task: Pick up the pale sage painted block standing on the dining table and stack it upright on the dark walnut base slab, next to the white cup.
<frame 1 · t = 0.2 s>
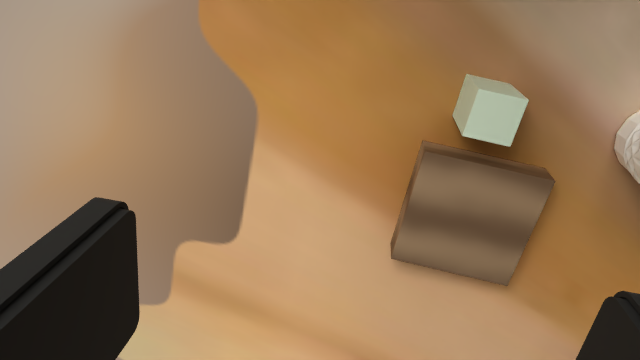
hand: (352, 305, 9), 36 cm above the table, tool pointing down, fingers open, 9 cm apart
walnut base: (463, 207, 47), on the table
sage block: (480, 99, 43), on the table
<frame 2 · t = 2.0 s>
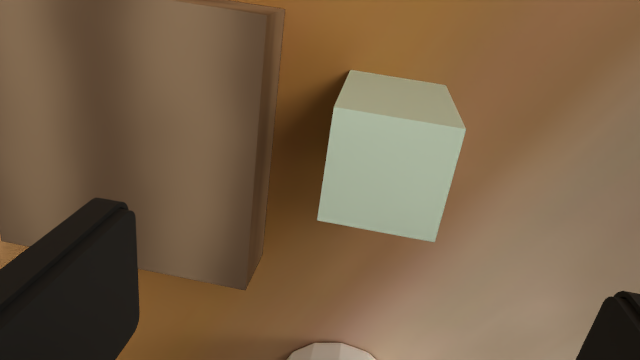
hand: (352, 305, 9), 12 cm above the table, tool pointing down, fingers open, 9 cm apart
walnut base: (148, 124, 22), on the table
sage block: (388, 122, 20), on the table
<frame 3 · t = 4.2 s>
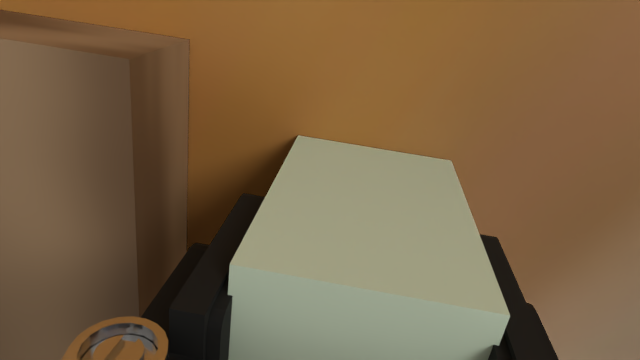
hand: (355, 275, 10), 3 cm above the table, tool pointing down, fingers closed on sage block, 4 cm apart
sage block: (361, 215, 13), on the table, touching gripper
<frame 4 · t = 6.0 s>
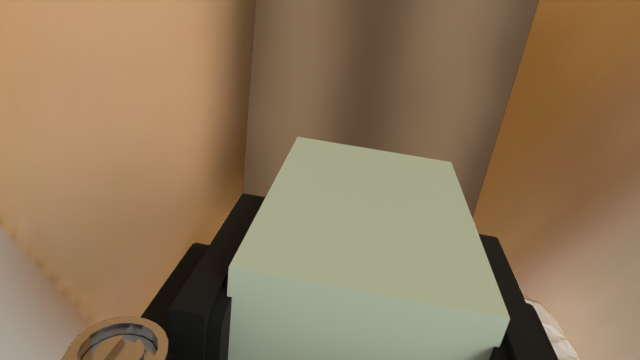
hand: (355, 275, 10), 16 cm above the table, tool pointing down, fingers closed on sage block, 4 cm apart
white cup: (502, 334, 30), on the table
walnut base: (372, 99, 25), on the table
sage block: (360, 216, 13), point 13 cm above the table, touching gripper
when the fingers open (7 cm above the table, at t = 8.3 s): sage block stays where it is, resting on walnut base.
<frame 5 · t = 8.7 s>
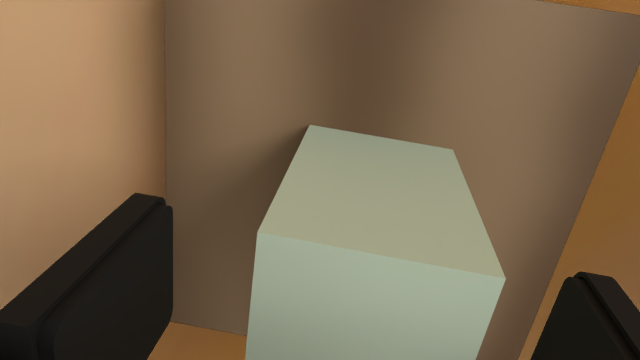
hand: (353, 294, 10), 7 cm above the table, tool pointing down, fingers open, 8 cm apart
walnut base: (365, 163, 16), on the table
sage block: (367, 200, 14), point 3 cm above the table, touching walnut base
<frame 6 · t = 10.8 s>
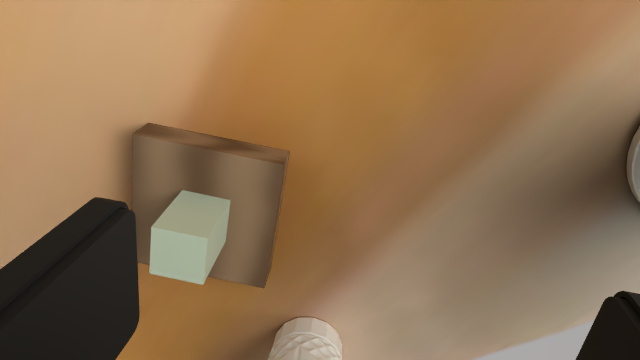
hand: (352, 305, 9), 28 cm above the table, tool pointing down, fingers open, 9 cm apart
white cup: (308, 340, 47), on the table
walnut base: (213, 200, 41), on the table
sage block: (204, 216, 38), point 3 cm above the table, touching walnut base
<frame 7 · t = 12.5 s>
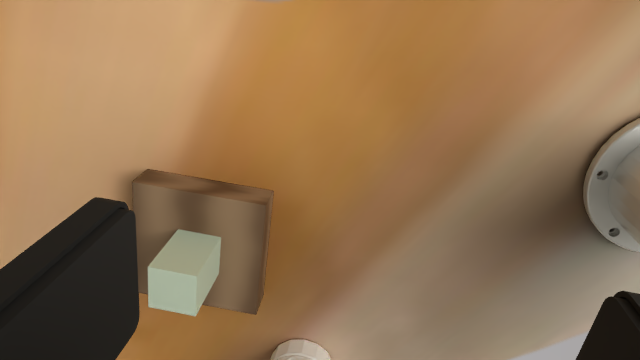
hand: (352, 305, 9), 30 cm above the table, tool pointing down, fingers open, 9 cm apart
walnut base: (208, 235, 45), on the table
sage block: (198, 251, 43), point 3 cm above the table, touching walnut base
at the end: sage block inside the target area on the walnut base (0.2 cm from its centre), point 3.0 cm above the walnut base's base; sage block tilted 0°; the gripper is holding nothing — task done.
